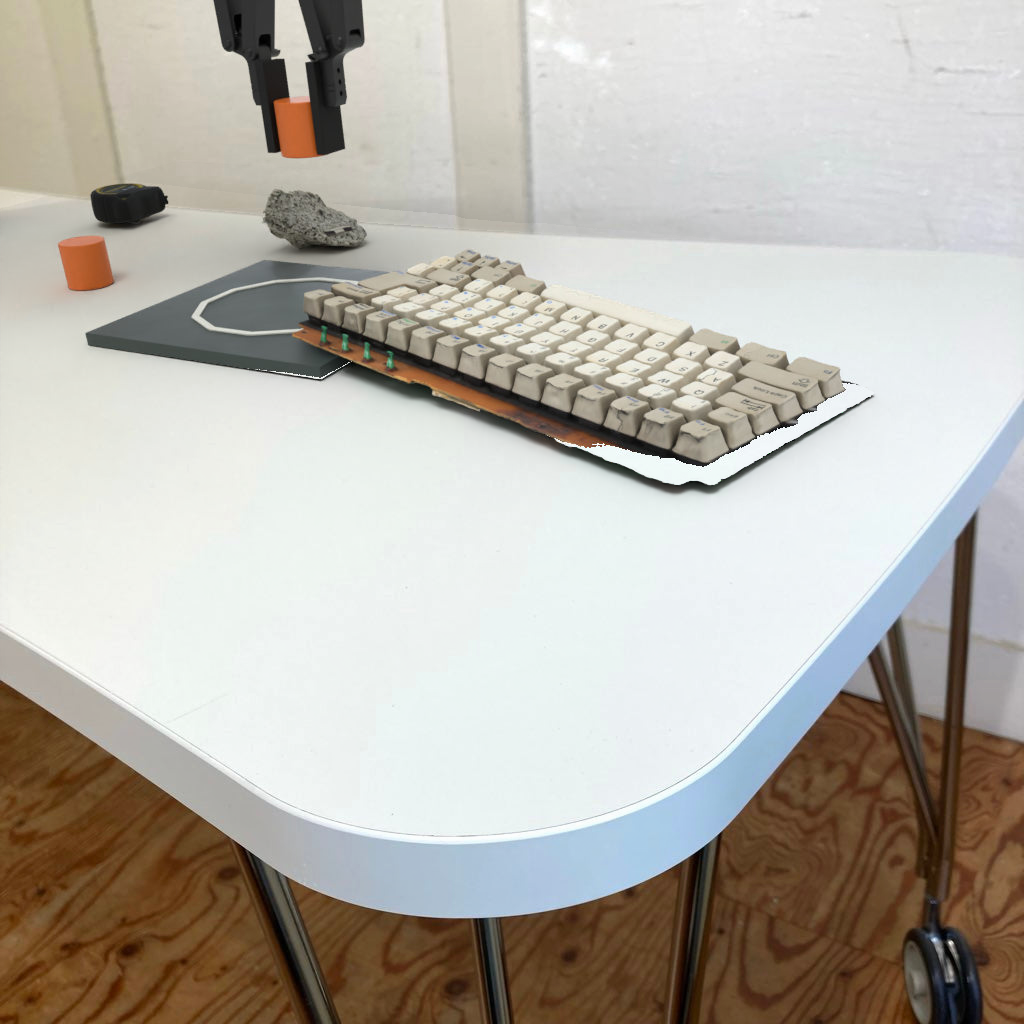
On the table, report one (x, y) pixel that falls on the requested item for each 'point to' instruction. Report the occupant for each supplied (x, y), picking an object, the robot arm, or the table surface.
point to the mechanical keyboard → (565, 359)
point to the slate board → (236, 320)
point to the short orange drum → (295, 127)
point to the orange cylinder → (86, 262)
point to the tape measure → (127, 202)
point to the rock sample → (309, 221)
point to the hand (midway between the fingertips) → (306, 150)
